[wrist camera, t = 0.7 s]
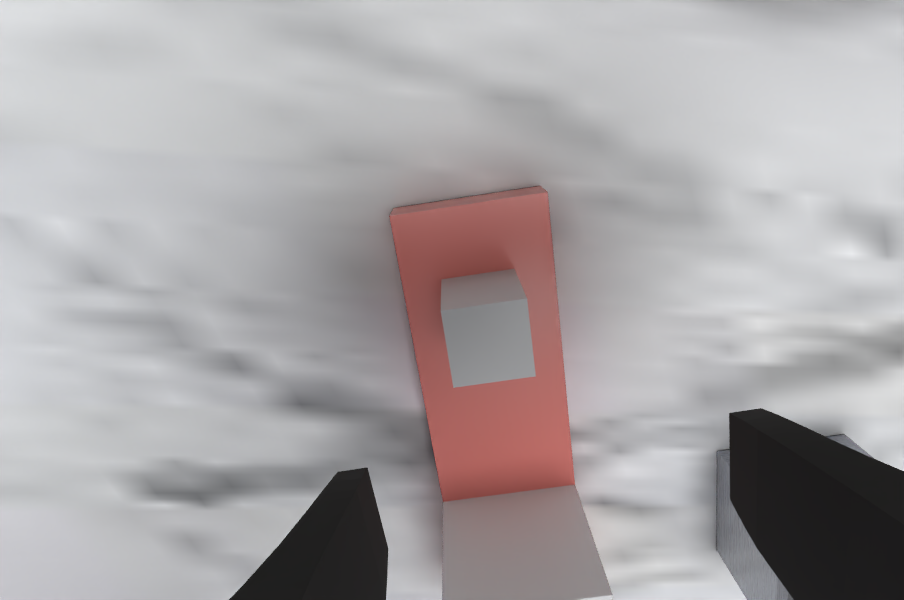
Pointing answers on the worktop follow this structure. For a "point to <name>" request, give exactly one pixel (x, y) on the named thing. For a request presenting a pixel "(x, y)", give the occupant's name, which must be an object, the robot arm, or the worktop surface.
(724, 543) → the grey cube
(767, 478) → the robot arm
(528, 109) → the worktop surface
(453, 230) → the rail
